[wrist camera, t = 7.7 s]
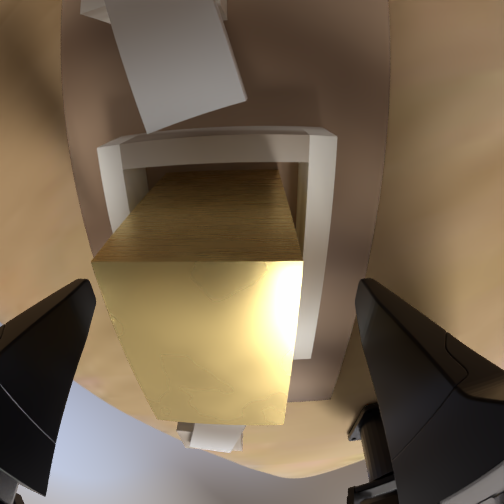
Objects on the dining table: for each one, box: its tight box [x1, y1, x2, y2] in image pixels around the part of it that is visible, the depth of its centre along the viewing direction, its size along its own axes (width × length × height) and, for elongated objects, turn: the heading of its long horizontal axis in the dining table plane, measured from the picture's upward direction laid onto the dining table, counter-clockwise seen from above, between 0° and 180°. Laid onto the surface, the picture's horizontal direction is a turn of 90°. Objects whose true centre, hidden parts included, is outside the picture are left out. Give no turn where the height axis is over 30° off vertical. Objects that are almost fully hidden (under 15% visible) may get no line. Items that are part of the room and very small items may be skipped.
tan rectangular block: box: [91, 169, 303, 425], centre depth 9 cm, size 6×4×6 cm, turn 1°
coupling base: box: [61, 0, 390, 453], centre depth 11 cm, size 23×12×6 cm, turn 1°
